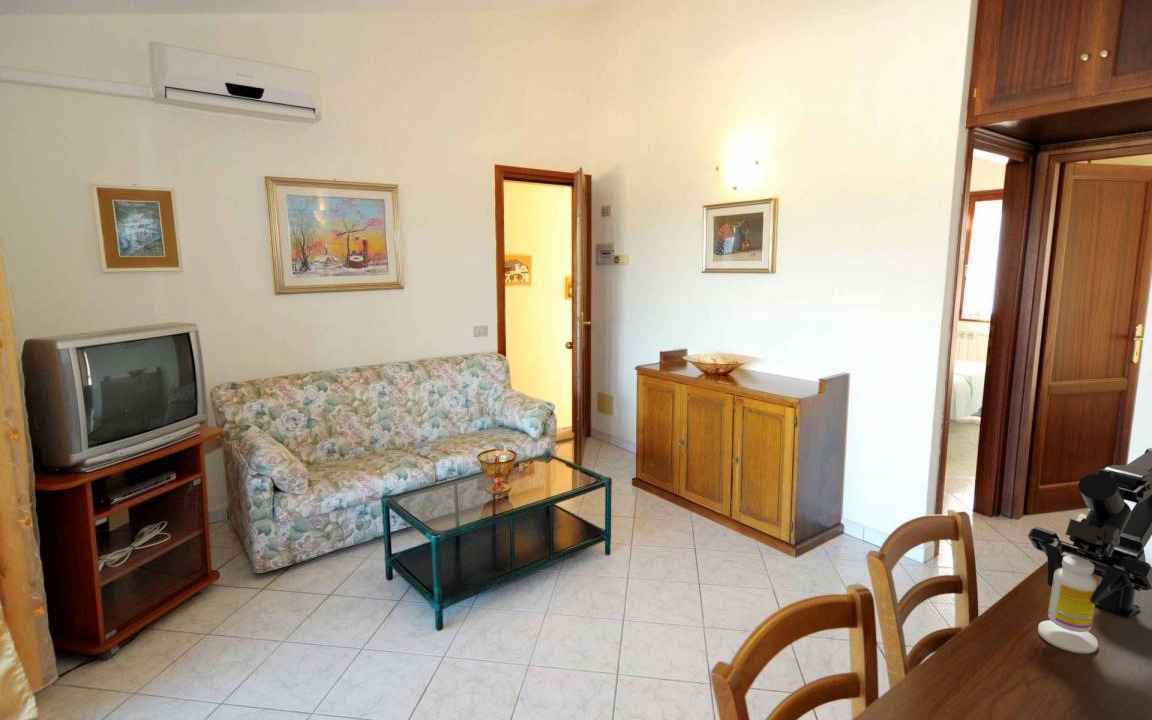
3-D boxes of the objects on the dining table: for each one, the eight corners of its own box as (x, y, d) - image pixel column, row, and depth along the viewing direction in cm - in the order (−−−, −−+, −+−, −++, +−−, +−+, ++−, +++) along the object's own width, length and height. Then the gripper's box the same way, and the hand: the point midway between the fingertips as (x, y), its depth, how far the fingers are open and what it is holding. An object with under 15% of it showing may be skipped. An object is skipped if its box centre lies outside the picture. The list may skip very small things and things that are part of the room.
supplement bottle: (1099, 635, 115) (1110, 572, 112) (1061, 632, 116) (1070, 570, 113) (1076, 613, 121) (1086, 554, 119) (1039, 611, 122) (1048, 552, 120)
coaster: (1051, 619, 125) (1051, 615, 125) (1106, 643, 117) (1106, 638, 117) (1028, 634, 120) (1029, 629, 120) (1084, 659, 113) (1085, 654, 113)
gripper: (1037, 488, 124) (1003, 554, 121) (1158, 522, 108) (1123, 599, 105) (1052, 515, 129) (1020, 579, 126) (1169, 552, 113) (1136, 625, 110)
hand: (1070, 593), depth 117 cm, fingers closed on supplement bottle, 7 cm apart
